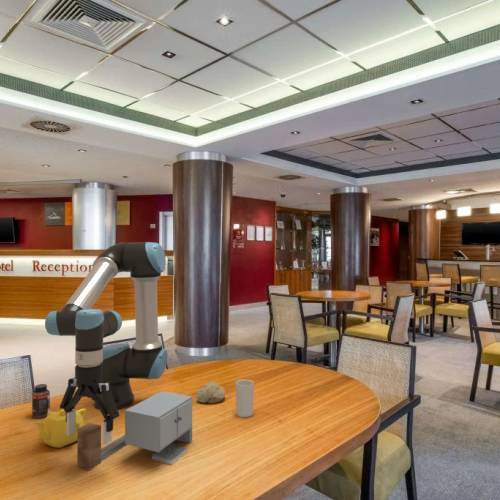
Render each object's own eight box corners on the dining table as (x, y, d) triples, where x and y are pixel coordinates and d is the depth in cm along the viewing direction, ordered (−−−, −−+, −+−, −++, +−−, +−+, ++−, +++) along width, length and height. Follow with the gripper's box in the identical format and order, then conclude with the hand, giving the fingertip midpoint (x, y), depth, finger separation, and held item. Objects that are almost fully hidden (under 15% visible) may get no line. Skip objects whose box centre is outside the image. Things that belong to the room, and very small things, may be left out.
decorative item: (213, 398, 162) (196, 383, 168) (208, 415, 166) (191, 400, 171) (233, 386, 172) (216, 372, 177) (228, 403, 175) (212, 388, 180)
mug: (256, 416, 156) (256, 383, 155) (239, 419, 153) (239, 386, 153) (246, 406, 165) (246, 376, 165) (230, 409, 162) (230, 378, 162)
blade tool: (77, 467, 119) (77, 429, 119) (128, 435, 139) (128, 403, 139) (89, 470, 117) (89, 431, 117) (139, 438, 137) (139, 405, 137)
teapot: (78, 450, 129) (78, 417, 129) (33, 454, 127) (34, 420, 127) (87, 431, 142) (88, 401, 142) (47, 434, 140) (47, 403, 140)
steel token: (151, 461, 124) (152, 455, 124) (168, 449, 131) (168, 443, 131) (171, 466, 121) (171, 460, 121) (187, 454, 128) (187, 448, 128)
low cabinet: (125, 459, 124) (125, 410, 124) (161, 434, 140) (161, 391, 140) (161, 468, 118) (161, 417, 118) (195, 441, 135) (195, 397, 135)
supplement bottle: (53, 414, 157) (53, 384, 157) (39, 420, 151) (39, 389, 151) (42, 411, 159) (42, 382, 159) (28, 417, 154) (28, 386, 154)
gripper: (47, 362, 122) (46, 435, 122) (113, 372, 112) (113, 452, 111) (67, 356, 129) (67, 425, 128) (132, 365, 118) (131, 440, 118)
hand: (88, 438), depth 120 cm, fingers open, 13 cm apart
